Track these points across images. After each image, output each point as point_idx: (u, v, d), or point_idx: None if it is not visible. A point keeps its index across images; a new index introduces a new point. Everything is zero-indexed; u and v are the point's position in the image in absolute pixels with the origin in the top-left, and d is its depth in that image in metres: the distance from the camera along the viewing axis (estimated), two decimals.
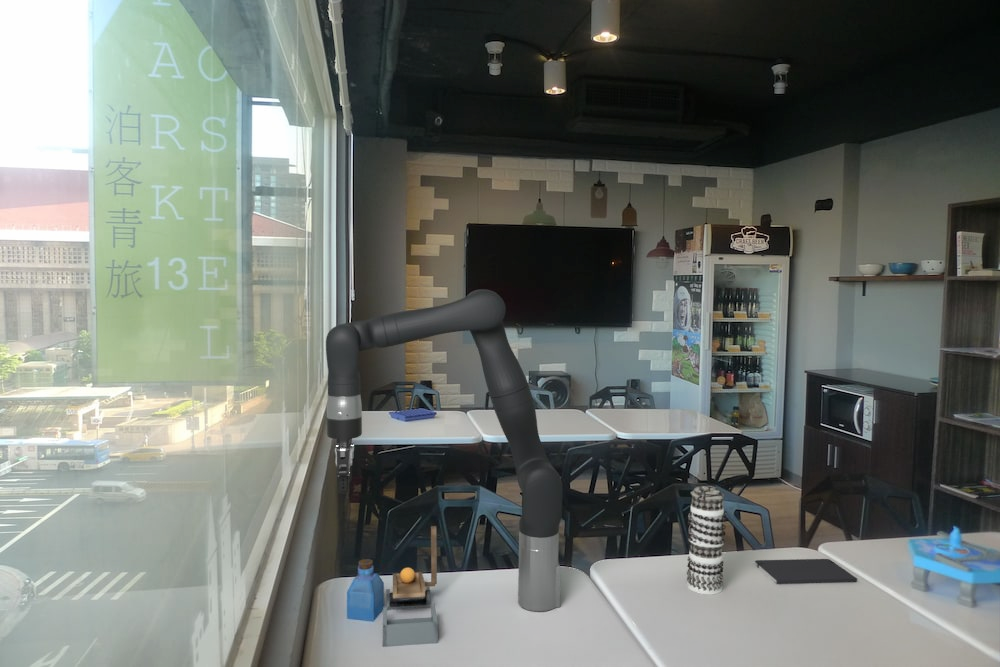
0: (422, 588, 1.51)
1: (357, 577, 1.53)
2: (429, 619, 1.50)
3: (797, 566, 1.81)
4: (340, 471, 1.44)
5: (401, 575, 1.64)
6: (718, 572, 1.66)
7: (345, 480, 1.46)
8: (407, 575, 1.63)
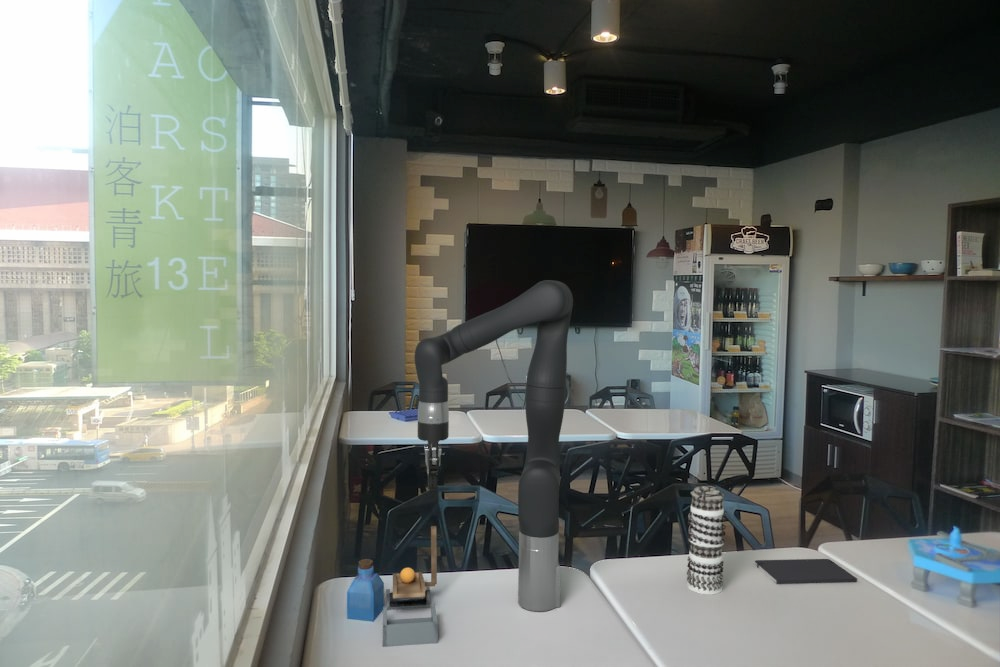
0: (422, 588, 1.51)
1: (357, 577, 1.53)
2: (429, 619, 1.50)
3: (797, 566, 1.81)
4: (431, 470, 1.64)
5: (401, 575, 1.64)
6: (718, 572, 1.66)
7: (434, 478, 1.66)
8: (407, 575, 1.63)
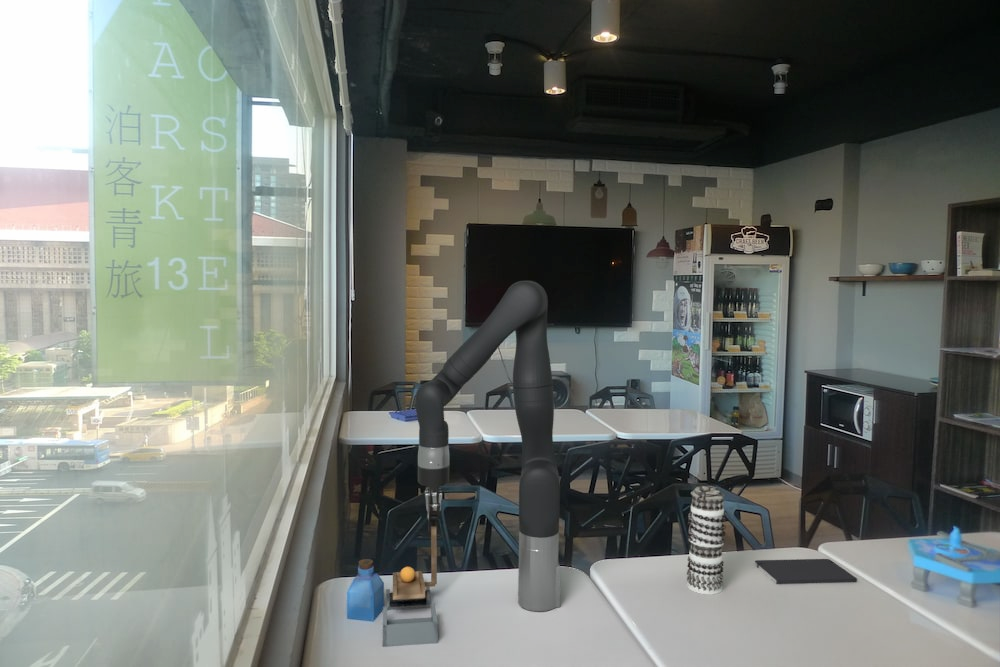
0: (422, 589, 1.51)
1: (357, 577, 1.53)
2: (429, 619, 1.50)
3: (797, 566, 1.81)
4: (432, 516, 1.61)
5: (401, 574, 1.64)
6: (718, 572, 1.66)
7: (435, 523, 1.63)
8: (407, 574, 1.63)
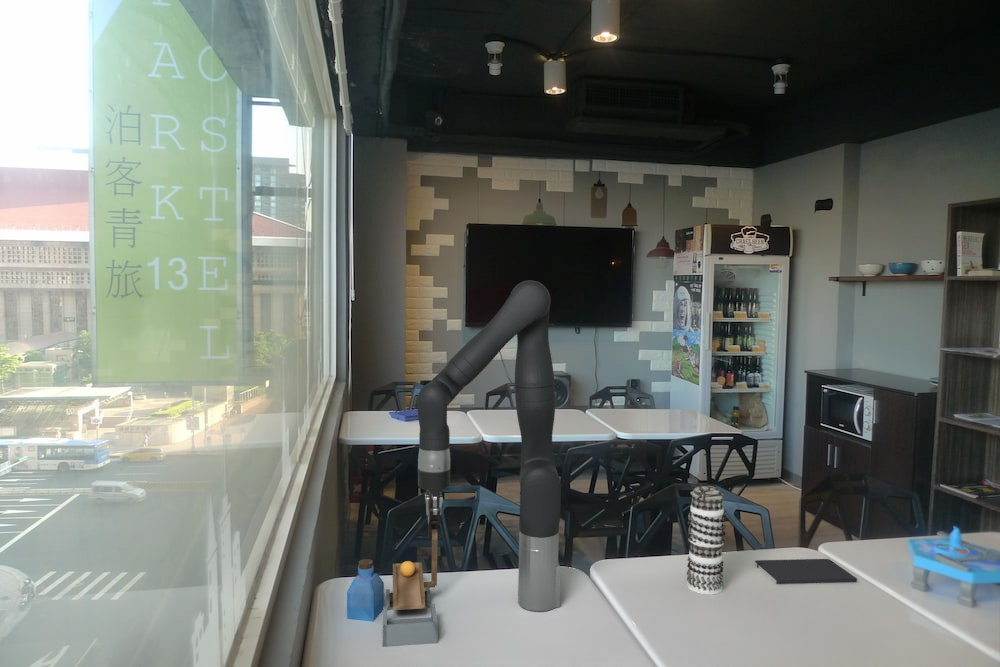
0: (422, 601, 1.51)
1: (357, 577, 1.53)
2: (429, 619, 1.50)
3: (797, 566, 1.81)
4: (432, 520, 1.58)
5: (401, 570, 1.63)
6: (718, 572, 1.66)
7: (435, 528, 1.60)
8: (407, 571, 1.62)
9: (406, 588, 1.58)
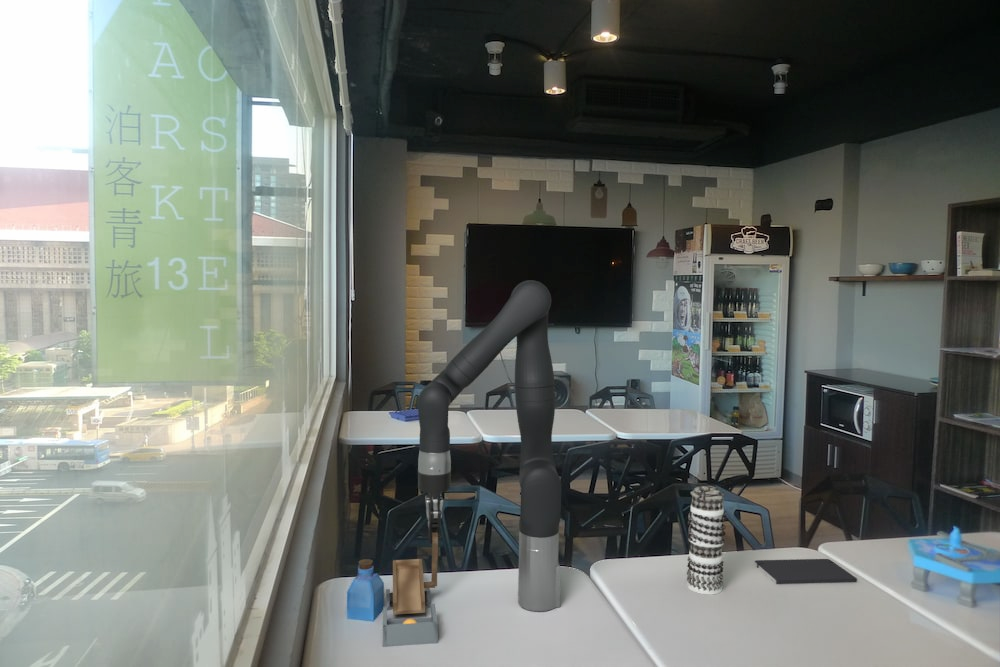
0: (422, 605, 1.51)
1: (357, 577, 1.53)
2: (429, 619, 1.50)
3: (797, 566, 1.81)
4: (432, 524, 1.56)
5: None
6: (718, 572, 1.66)
7: (436, 531, 1.58)
8: None
9: (406, 588, 1.58)
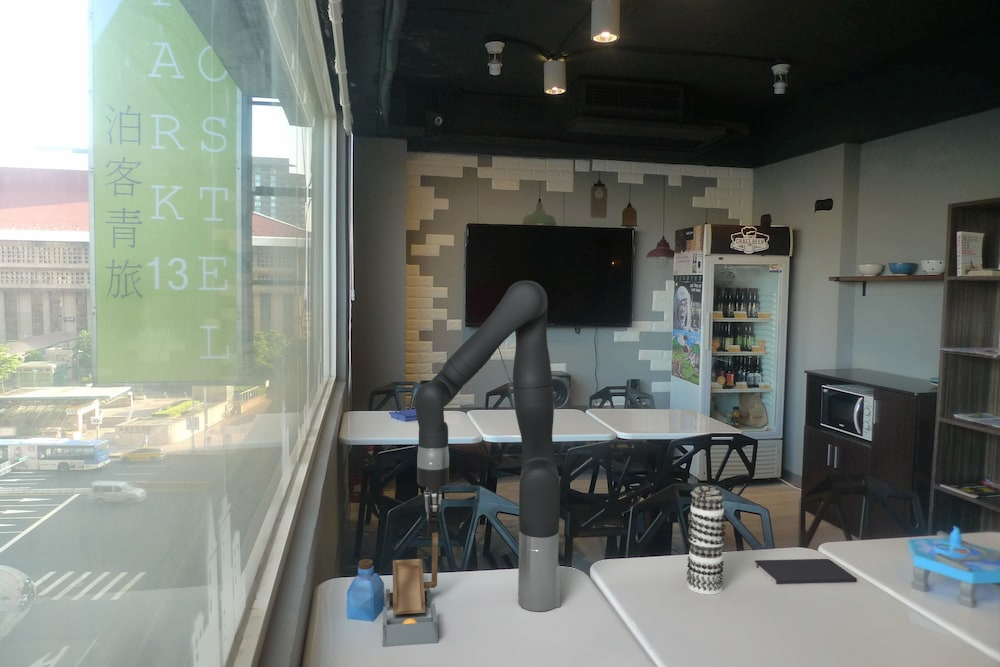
0: (422, 605, 1.51)
1: (357, 577, 1.53)
2: (429, 619, 1.50)
3: (797, 566, 1.81)
4: (431, 517, 1.61)
5: None
6: (718, 572, 1.66)
7: (434, 525, 1.63)
8: None
9: (406, 588, 1.58)
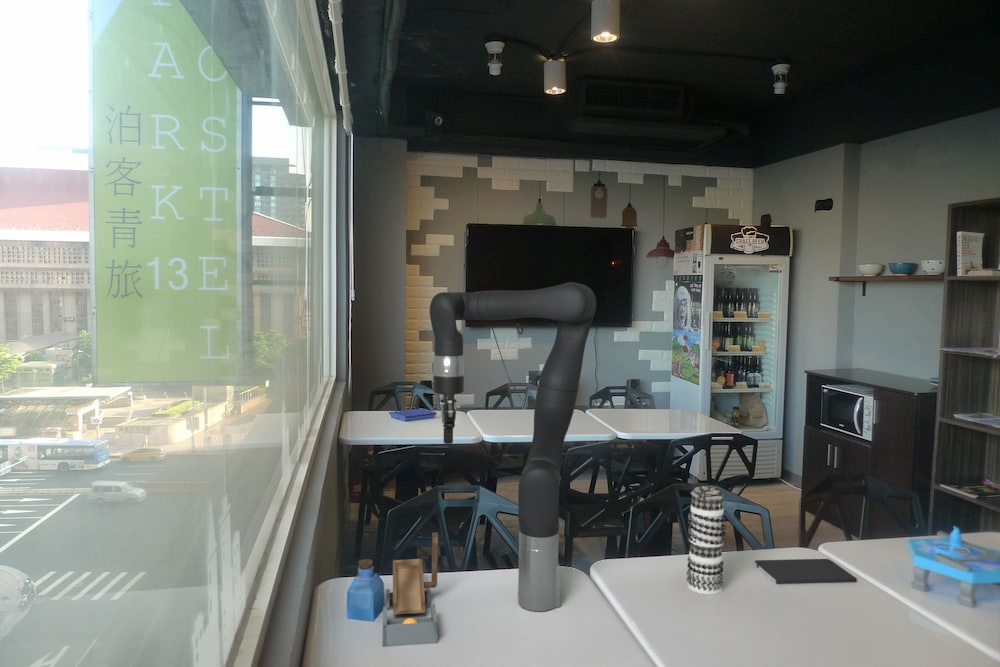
0: (422, 605, 1.51)
1: (357, 577, 1.53)
2: (429, 619, 1.50)
3: (797, 566, 1.81)
4: (447, 423, 1.66)
5: None
6: (718, 572, 1.66)
7: (450, 432, 1.68)
8: None
9: (406, 588, 1.58)
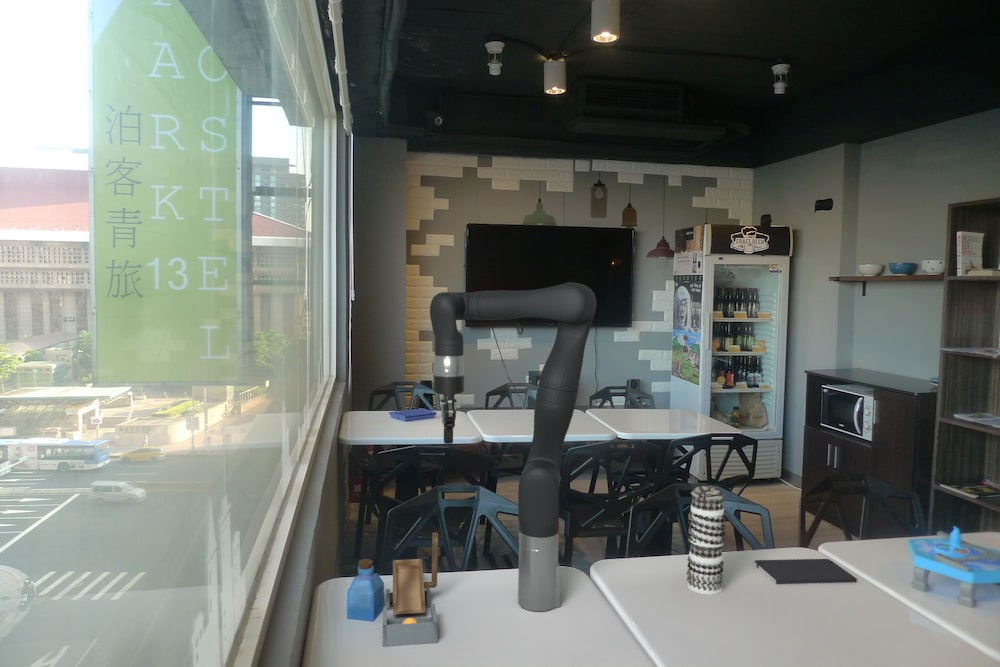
0: (422, 605, 1.51)
1: (357, 577, 1.53)
2: (429, 619, 1.50)
3: (797, 566, 1.81)
4: (447, 423, 1.66)
5: None
6: (718, 572, 1.66)
7: (450, 432, 1.68)
8: None
9: (406, 588, 1.58)
